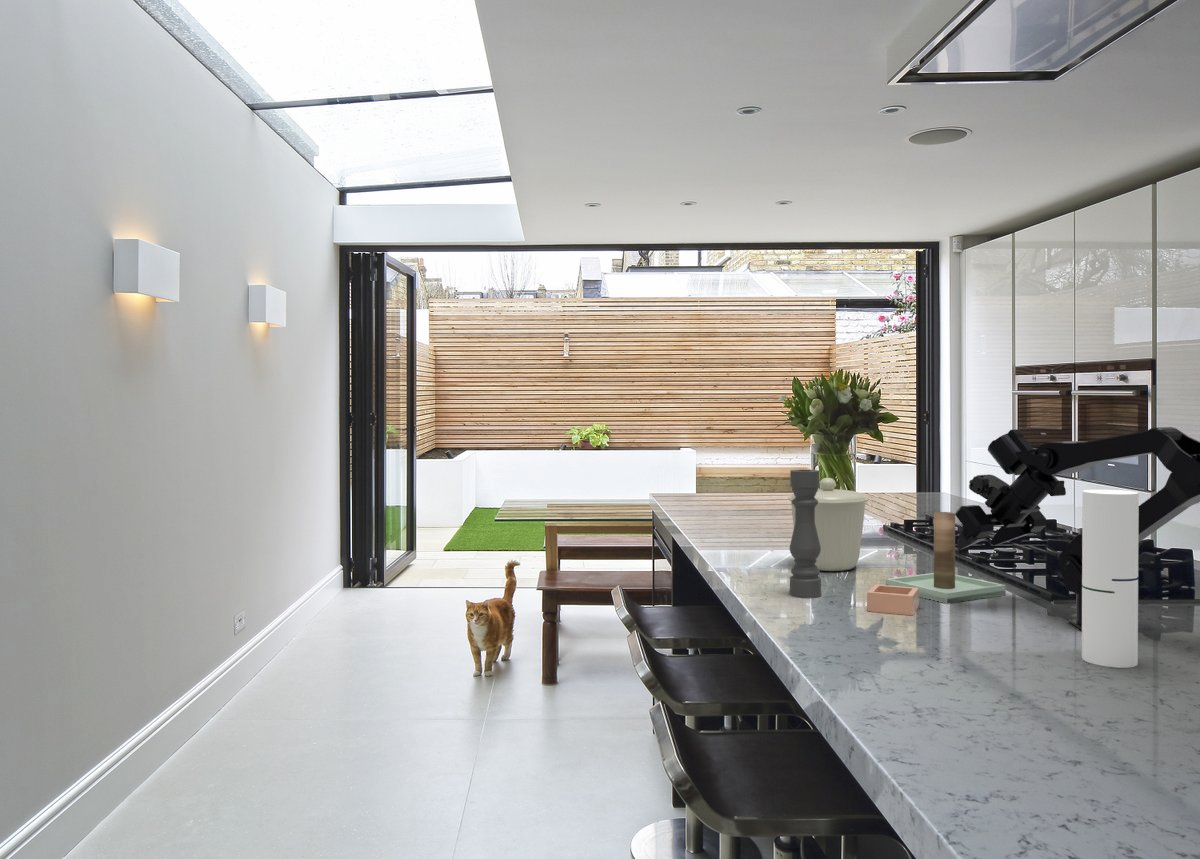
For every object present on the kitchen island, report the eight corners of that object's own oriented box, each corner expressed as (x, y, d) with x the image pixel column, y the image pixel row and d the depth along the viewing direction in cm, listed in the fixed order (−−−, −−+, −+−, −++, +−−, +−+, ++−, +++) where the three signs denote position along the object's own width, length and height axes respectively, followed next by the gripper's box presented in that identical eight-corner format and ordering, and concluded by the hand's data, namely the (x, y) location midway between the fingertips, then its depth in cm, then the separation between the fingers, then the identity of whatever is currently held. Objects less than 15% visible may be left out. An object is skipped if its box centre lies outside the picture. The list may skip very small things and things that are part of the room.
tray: (1005, 595, 174) (1005, 585, 174) (947, 603, 167) (947, 593, 167) (941, 581, 189) (941, 571, 189) (885, 588, 182) (885, 579, 182)
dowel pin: (950, 589, 175) (950, 514, 175) (930, 587, 178) (930, 513, 177) (958, 586, 178) (958, 512, 178) (938, 584, 181) (938, 511, 180)
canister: (773, 565, 210) (772, 477, 209) (833, 558, 217) (832, 473, 217) (822, 578, 193) (821, 482, 193) (885, 570, 201) (885, 478, 201)
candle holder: (818, 591, 180) (818, 469, 179) (823, 598, 173) (822, 471, 173) (788, 591, 180) (787, 469, 180) (791, 597, 174) (790, 471, 173)
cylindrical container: (1145, 668, 126) (1146, 494, 125) (1091, 666, 127) (1092, 494, 126) (1126, 654, 133) (1127, 489, 132) (1075, 652, 134) (1075, 489, 133)
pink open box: (918, 606, 166) (918, 587, 166) (912, 615, 159) (912, 596, 158) (875, 602, 169) (875, 584, 169) (867, 611, 162) (866, 592, 162)
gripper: (1032, 459, 170) (985, 510, 180) (963, 462, 161) (917, 516, 172) (1070, 503, 163) (1018, 554, 173) (999, 509, 155) (950, 562, 165)
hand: (975, 545), depth 171 cm, fingers open, 9 cm apart
